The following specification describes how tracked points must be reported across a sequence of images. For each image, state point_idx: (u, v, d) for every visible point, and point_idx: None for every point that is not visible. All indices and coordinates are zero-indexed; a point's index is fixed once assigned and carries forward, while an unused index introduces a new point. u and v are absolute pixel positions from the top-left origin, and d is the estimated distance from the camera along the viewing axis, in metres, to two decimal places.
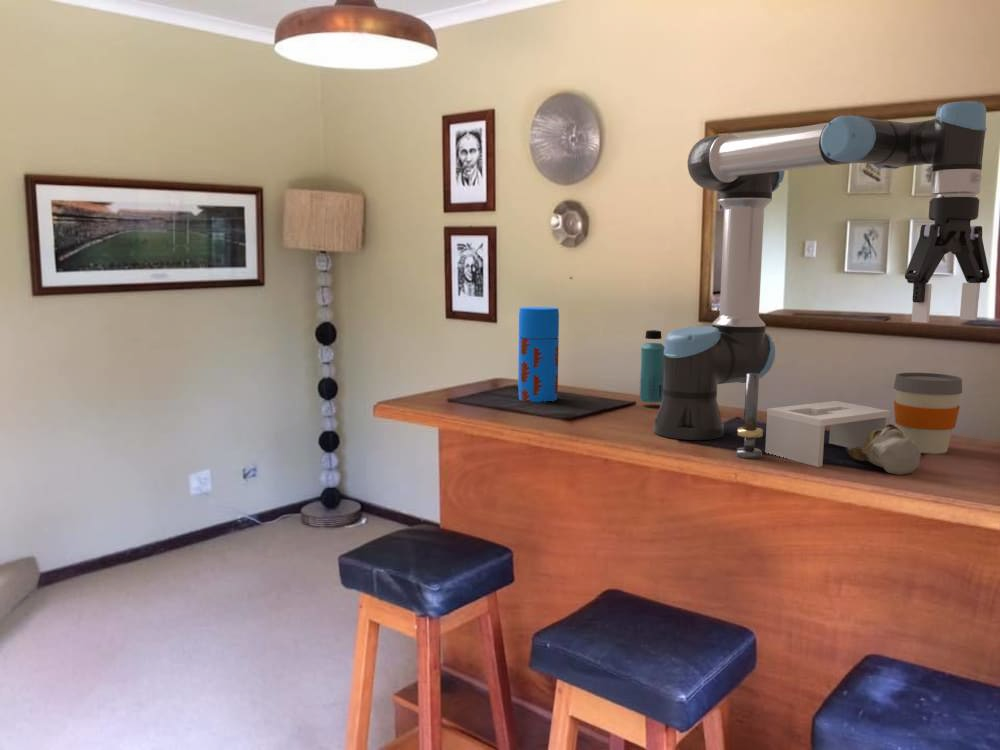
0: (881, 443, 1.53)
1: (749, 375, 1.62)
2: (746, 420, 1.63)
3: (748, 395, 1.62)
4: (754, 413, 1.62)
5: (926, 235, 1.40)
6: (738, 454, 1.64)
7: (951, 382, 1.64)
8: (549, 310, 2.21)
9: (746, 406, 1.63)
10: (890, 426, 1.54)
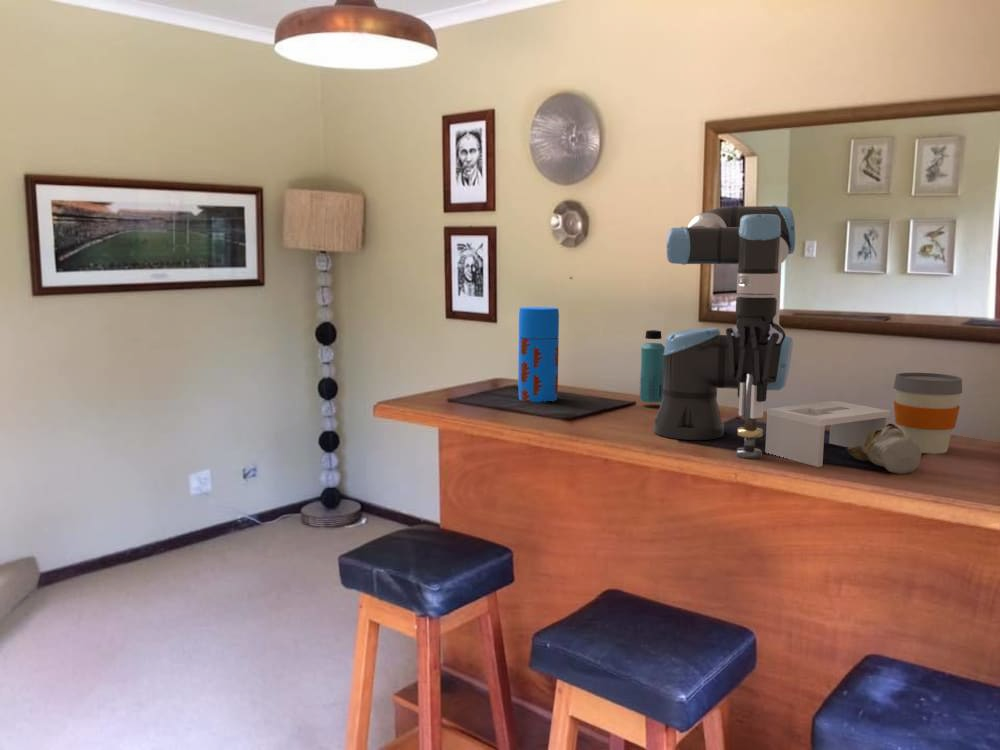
0: (882, 442, 1.54)
1: (749, 375, 1.62)
2: (746, 420, 1.63)
3: (748, 395, 1.62)
4: None
5: None
6: (738, 454, 1.64)
7: (951, 382, 1.64)
8: (549, 310, 2.21)
9: (746, 406, 1.63)
10: (891, 425, 1.55)
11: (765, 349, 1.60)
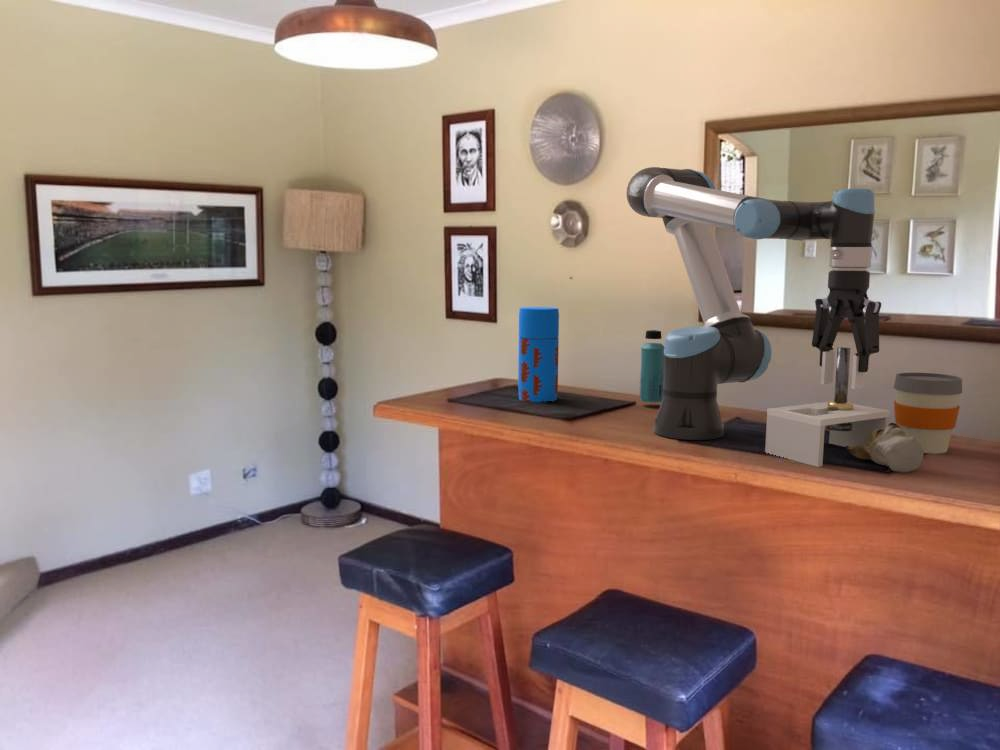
0: (885, 441, 1.54)
1: (841, 349, 1.65)
2: (837, 393, 1.66)
3: (839, 368, 1.65)
4: (845, 386, 1.65)
5: None
6: (829, 427, 1.67)
7: (951, 382, 1.64)
8: (549, 310, 2.21)
9: (837, 379, 1.66)
10: (893, 425, 1.56)
11: (861, 320, 1.62)
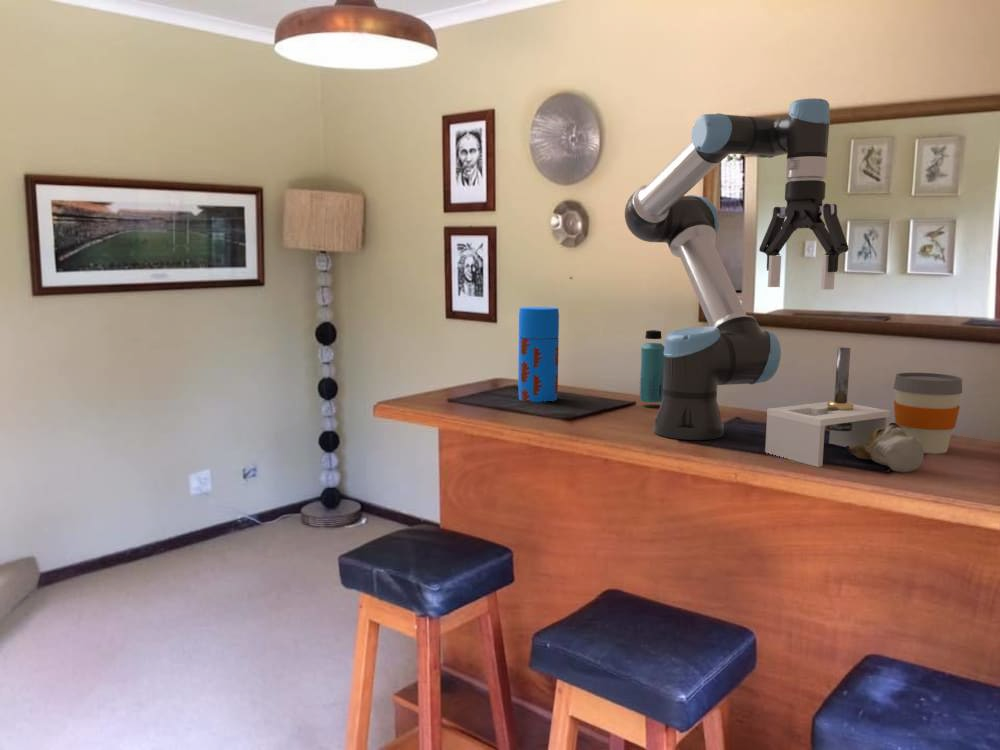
0: (885, 441, 1.54)
1: (841, 349, 1.65)
2: (837, 393, 1.66)
3: (839, 368, 1.65)
4: (845, 386, 1.65)
5: None
6: (829, 427, 1.67)
7: (951, 382, 1.64)
8: (549, 310, 2.21)
9: (837, 379, 1.66)
10: (893, 424, 1.56)
11: (822, 225, 1.63)
